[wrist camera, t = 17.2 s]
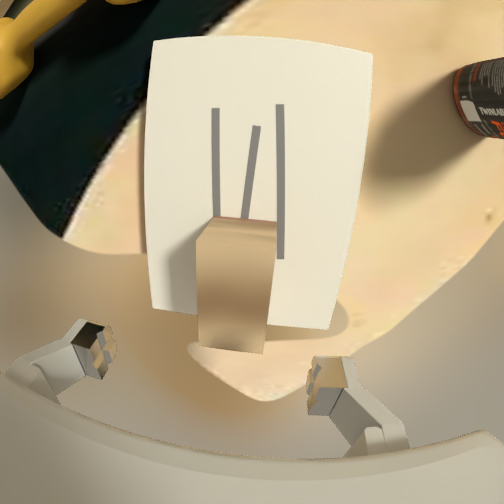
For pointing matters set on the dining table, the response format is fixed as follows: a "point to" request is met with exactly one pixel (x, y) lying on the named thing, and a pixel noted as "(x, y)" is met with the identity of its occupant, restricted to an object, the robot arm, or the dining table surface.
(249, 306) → the block
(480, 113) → the supplement bottle
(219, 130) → the board
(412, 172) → the dining table surface
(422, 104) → the dining table surface
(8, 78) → the dumbbell
